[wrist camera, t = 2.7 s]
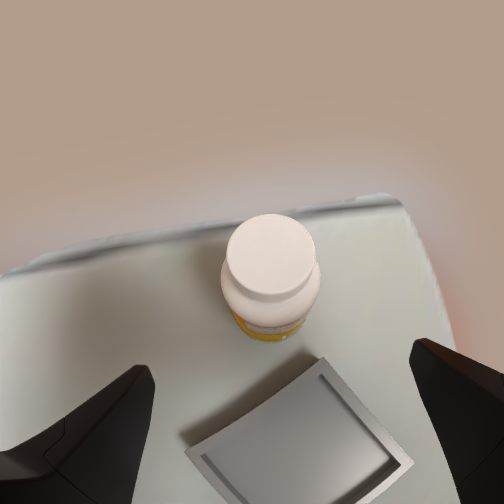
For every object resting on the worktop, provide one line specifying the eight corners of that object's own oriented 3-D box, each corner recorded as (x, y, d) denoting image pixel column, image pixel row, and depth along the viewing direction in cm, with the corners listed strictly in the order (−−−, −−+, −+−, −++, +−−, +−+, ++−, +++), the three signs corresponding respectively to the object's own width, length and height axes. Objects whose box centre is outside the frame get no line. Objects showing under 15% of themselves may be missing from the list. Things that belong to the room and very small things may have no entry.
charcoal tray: (283, 542, 12) (284, 553, 10) (190, 446, 16) (183, 451, 15) (404, 458, 14) (414, 463, 13) (318, 359, 19) (323, 356, 17)
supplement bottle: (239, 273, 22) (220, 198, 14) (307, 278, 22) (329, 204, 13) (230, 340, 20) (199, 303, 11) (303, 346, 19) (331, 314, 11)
